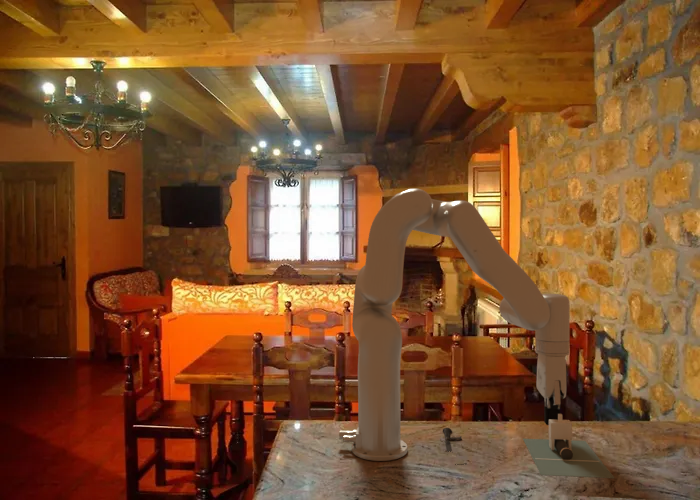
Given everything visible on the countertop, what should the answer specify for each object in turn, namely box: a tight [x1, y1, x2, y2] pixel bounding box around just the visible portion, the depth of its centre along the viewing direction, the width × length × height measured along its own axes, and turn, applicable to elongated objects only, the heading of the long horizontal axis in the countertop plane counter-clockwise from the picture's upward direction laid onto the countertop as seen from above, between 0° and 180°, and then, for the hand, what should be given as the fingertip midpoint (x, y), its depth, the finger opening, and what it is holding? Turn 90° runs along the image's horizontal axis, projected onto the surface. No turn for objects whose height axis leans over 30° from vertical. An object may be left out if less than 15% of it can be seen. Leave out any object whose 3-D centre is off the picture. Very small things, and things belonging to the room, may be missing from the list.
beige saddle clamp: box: [548, 413, 573, 450], centre depth 124 cm, size 4×2×8 cm, turn 83°
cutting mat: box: [522, 438, 615, 479], centre depth 121 cm, size 14×20×1 cm
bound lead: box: [554, 439, 573, 460], centre depth 123 cm, size 2×10×2 cm, turn 173°
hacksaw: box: [442, 427, 468, 466], centre depth 127 cm, size 24×10×2 cm, turn 174°
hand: (552, 424), depth 132 cm, fingers closed
